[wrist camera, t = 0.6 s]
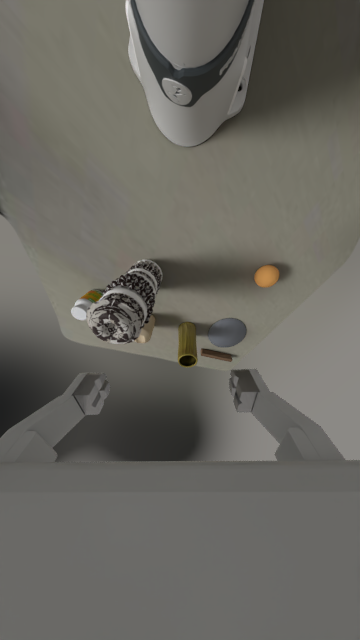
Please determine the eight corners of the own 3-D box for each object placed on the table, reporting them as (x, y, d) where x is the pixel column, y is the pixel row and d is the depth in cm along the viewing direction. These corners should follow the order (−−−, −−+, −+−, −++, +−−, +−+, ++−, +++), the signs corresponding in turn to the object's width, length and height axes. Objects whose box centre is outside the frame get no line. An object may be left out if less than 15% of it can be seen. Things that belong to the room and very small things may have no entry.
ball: (258, 260, 39) (268, 265, 34) (277, 265, 39) (289, 272, 35) (247, 280, 42) (255, 287, 37) (265, 285, 42) (274, 293, 38)
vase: (175, 332, 53) (173, 365, 41) (182, 319, 50) (181, 350, 38) (191, 337, 54) (193, 370, 42) (198, 325, 51) (203, 357, 39)
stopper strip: (201, 348, 57) (202, 353, 55) (230, 354, 58) (232, 359, 56) (200, 350, 58) (201, 355, 56) (229, 356, 59) (230, 361, 57)
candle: (158, 318, 50) (153, 338, 42) (150, 328, 52) (143, 349, 44) (144, 309, 48) (135, 328, 40) (136, 320, 51) (126, 340, 42)
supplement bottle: (108, 294, 45) (91, 310, 37) (104, 307, 48) (88, 325, 40) (89, 286, 44) (68, 301, 36) (87, 300, 47) (67, 317, 39)
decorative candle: (161, 293, 45) (140, 358, 24) (130, 286, 44) (80, 346, 23) (167, 263, 40) (147, 311, 19) (132, 253, 39) (71, 293, 18)
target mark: (216, 314, 48) (217, 314, 48) (253, 323, 50) (253, 323, 50) (203, 342, 55) (203, 343, 55) (235, 350, 57) (235, 350, 57)
